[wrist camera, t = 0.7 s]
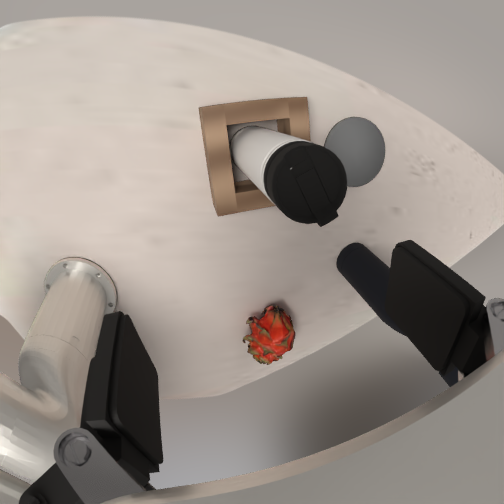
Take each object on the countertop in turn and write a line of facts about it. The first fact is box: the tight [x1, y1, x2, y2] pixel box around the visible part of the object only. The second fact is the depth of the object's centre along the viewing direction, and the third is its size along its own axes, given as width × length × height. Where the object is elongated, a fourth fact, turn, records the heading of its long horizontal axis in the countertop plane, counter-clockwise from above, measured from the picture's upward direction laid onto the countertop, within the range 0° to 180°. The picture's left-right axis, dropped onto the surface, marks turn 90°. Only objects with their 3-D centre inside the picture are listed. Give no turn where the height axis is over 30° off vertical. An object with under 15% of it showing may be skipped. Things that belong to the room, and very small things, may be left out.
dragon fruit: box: [243, 305, 295, 365], centre depth 51 cm, size 8×8×12 cm
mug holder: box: [199, 97, 310, 216], centre depth 37 cm, size 13×13×5 cm
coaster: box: [324, 117, 385, 187], centre depth 42 cm, size 11×11×1 cm
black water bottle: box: [337, 243, 458, 387], centre depth 39 cm, size 6×6×30 cm
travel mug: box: [229, 126, 347, 227], centre depth 30 cm, size 6×7×20 cm
